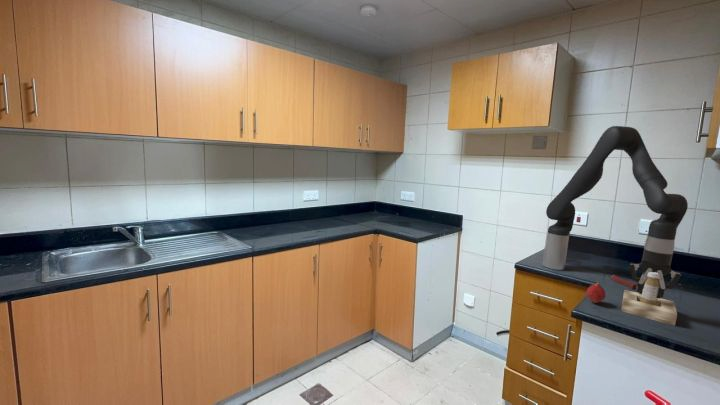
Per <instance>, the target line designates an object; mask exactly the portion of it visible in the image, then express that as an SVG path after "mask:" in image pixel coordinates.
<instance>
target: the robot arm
mask: <svg viewBox="0 0 720 405" xmlns="http://www.w3.org/2000/svg"><path fill="white" fill-rule="evenodd" d="M614 151H623V152H625V153H626V154H627V155H628V156H629V158H630V159H631V162H632V170H631V171H632V175H633V177H634V179H635V181H636V182H637V183H638V185H639V187H640V188H641V189H642V191H643V196H644V199H645V204H646V206H647V207H648V209H650V210H651V211H652V213H655V214H660V216H659V218H657V219H654V220H651V221H650V223H649V227H648V232H647V237H646V239H645V243H644V245H643V246H644V247H643V253H642V257H641V261H640V262H639V263H631V262H630V265H629V269H630V274H631V277H632V281H634V282H636V283H637V282H638V283H637V285H638V286H637V290H636V292H637V293H639V294H642V289H643V282H644V281H645V280H646V278H647V277H648V276H647V275H648V272H656V273H658V274H659V275H660V276H661V277H660V276H659V282H660V287H659V292H658V297H657V298H659V299H660V298H664V295H665V290H668V289H669V290H673V289H674V287H675V286H676V285H677V283H678V281H679V280H680V279H681V277H682V275H681V273H680V272H676V271H674V270H672V268H671V264H672V259H673V256H674V255H673V254H674V250H675V242H676V241H675V240H676V236H677V231H678V230H677V229H678V227H679V225H680V224H681V222H682V220H683V219H684V217H685V215H686V213H687V211H688V204H689V203H688V200H687V199H686V197H685V196H684V195H682V194H679V193H666V192H665V189H667V187H668V181H667V180H666V178H665V177H664V175H663V173H662V172H661V171H660V170H659V168H658V167H657V166H656V165H655V163H654V161H653V160H652V158H651V155H650V153H649V152H648V149H647V147H646V144H645V143H644V139H642V136H641V134H640V133H639V131H638V129H636V128H635V127H631V126H622V125H613V126H610V127H608V128H607V129H605V131H604V132H603V133H602V134H601V136H600V137H599V139H598V140H597V142H596V144H595V146H594V147H593V149H592V151H591V152H590V153H589V155H588V156H587V157H586V159H585V160H584V162H583V163H582V164H581V166H579V168H578V169H577V171H575V173H574V174H573V175H572V178H570V180H569V181H568V182H567V184H566V185H565V186H564V187H563V189H561V191H560V192H559V193H558V194H557V195H556V196H555V197H554V198H553V199H552V200H551V202H550V203H548V206H547V207H546V211H545V213H546V216H547V218H548V219H550V220H551V221H556V222H555V223H554V224H552V225H550V226H548V228H547V234H546V240H545V247H544V248H543V256H542V263H541V266H542V267H546V268H548V269H550V270H551V269H552V270H558V271H559V270H560V271H562V270H565V266H566V259H567V252H568V247H569V239H570V233H571V231H572V230H573V226H574V221H575V216H576V207H575V205H574V204H573V203H572V202H573V201H575V200H577V199H579V198H580V197H582V196H583V195H585V194H587V193H589V192H590V191H592V189H594V188H595V186H596V185H597V184H598V183H599V182H600V180H601V179H602V177H603V173H604V164H605V161H606V160H607V159H608V157H609V156H610V155H611V154H612V152H614ZM638 268H640V270H641V272H642V274H641V276H640V277H637V271H638ZM668 275H671V276H670V277H671V278H670V281H668V283H665V280H664V277H665V278H666V277H667V276H668Z"/></svg>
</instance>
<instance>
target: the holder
mask: <svg viewBox="0 0 720 405" xmlns="http://www.w3.org/2000/svg"><path fill="white" fill-rule="evenodd" d="M622 296H623V297H622V302H621V309H620V312H623V313H627V314H631V315H634V316H638V317H641V318H645V319H648V320H652V321H656V322H659V323H662V324H667V325H669V326H673V327H675V326H676V322H677V318H678V313H677V308H676V305H675V301H673V300H669V299H664V298H662V297H660V299H659V298H657V300H656V305H651V304H647V303H643V302H640V299H641V294H639V292H637V291H632V290H628V289H624V291H623V295H622Z"/></svg>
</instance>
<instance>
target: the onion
mask: <svg viewBox="0 0 720 405" xmlns="http://www.w3.org/2000/svg"><path fill="white" fill-rule="evenodd" d="M585 293H586V296H587V298H588V299H589V300H590V301H591V302H592V303H593V304H598V303H599V302H601V301H604V300H605V298H606V295H607V294H606V291H605V289H604V288H603V287H602V286H601V285H600V282H596V283H595V284H594V283H593V284H591V285H590V286H589V287H588V288H587V289H586V292H585Z"/></svg>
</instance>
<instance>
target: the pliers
mask: <svg viewBox="0 0 720 405" xmlns="http://www.w3.org/2000/svg"><path fill="white" fill-rule="evenodd" d="M610 278H611V280H612V281H614V282H616V283H617V284H620V285H623V286H625V287H628V288H630V290H635V291H637V286H638V282H636V283H634V282H631V281H629V280H625V279H623V278H621V277H618V276H617V275H615V274H612V275H610ZM643 283H644V282H643Z"/></svg>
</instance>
